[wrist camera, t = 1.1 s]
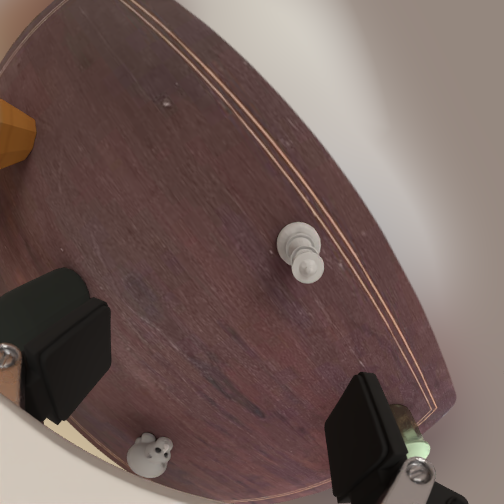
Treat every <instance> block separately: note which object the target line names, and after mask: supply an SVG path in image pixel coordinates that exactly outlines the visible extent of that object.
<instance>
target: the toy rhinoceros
mask: <svg viewBox="0 0 504 504" xmlns="http://www.w3.org/2000/svg"><path fill="white" fill-rule="evenodd" d="M155 440H156V439H155V436H154V435H152V434H150V433H143V434H142V437H141V438H137V439H136V441H135V445H133V446H132V447H131V448H130V449H129V451H128V453H127V461H128V464H129V466H130V468H131V469H132V470H133V471H134V472H135V473H136V474H138V475H140V476H142V477H146V478H154V477H157V476H160V475H161V474H162V473H163V472H164V471H165V469H166V467H167V462H168V461H169V459H170V457H171V454H170V450H171V449H172V447H173V443H172V441H171V440H170V439H169V438H166V437H160V438H159V439H158V440H157V441H156V442H155Z"/></svg>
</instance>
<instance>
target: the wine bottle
mask: <svg viewBox="0 0 504 504" xmlns="http://www.w3.org/2000/svg"><path fill="white" fill-rule="evenodd" d="M89 299H90V297H89V292H88V289H87V287H86V285H85V283H84V281H83V280H82V279H81V277H80V276H79V275H78V274H77V273H75V272H74V271H73V270H71V269H68V268H59V269H56V270H53V271H51V272H49V273H47V274H45V275H42V276H40V277H38V278H36V279H34V280H32V281H30V282H28V283H26V284H23V285H21V286H19V287H17V288H15V289H13V290H11V291H9V292H7V293H5V294H4V295H3V296H1V297H0V343H10V344H13V345H15V346H16V347H17V348H19V350H20V352H22V351H23V350H24V345H25V344H27V343H28V342H29V341H31V340H32V339H33V338H35V337H36V336H38V335H39V334H40V333H42V332H43V331H45V330H46V329H47V328H49V327H50V326H52V325H53V324H54V323H56V322H57V321H59V320H60V319H61V318H63V317H64V316H66V315H67V314H69V313H70V312H72V311H73V310H74V309H76V308H77V307H79V306H80V305H82V304H83V303H85V302H86V301H88V300H89Z"/></svg>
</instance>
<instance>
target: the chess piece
mask: <svg viewBox="0 0 504 504" xmlns="http://www.w3.org/2000/svg"><path fill="white" fill-rule="evenodd" d="M320 248H321V243H320V238H319V236H318V234H317V232H316V231H315V229H314V228H313V227H311V226H310V225H308V224H306V223H303V222H294V223H291V224H288V225H287V226H285V227H284V228H283V229H282V230H281V232H280V233H279V236H278V238H277V249H278V252H279V254H280V257H281V258H282V259H283V260H284V261H285V262H286V263H287V264H289V265H291V266H292V267H291V268H292V273H293V275H294V277H295V278H296V279H297V280H298V281H300V282H302V283H313V282H315V281H317V280H318V279H319V278H320V277H321V276H322V273H323V271H324V263H323V260H322V259H321V257H320V256H319V252H320Z"/></svg>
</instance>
